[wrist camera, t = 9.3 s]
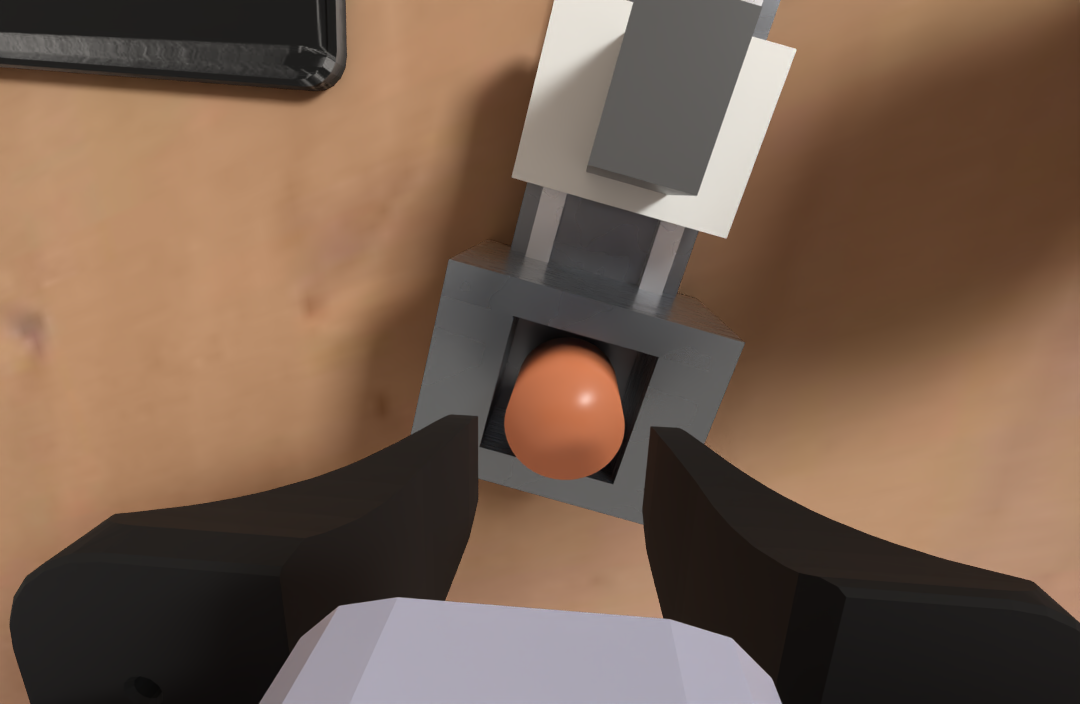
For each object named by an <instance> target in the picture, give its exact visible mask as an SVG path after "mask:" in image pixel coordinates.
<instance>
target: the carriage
mask: <svg viewBox="0 0 1080 704" xmlns="http://www.w3.org/2000/svg"><path fill="white" fill-rule="evenodd" d="M762 7H763V6H759V5H756V4H752V3H749V2H745V1H742V0H634V2H631V1H627V0H554V4H553V8H552V12H551V16H550V20H549V25H548V29H547V33H546V37H545V41H544V45H543V49H542V53H541V58H540V62H539V66H538V70H537V74H536V78H535V82H534V87H533V91H532V95H531V99H530V103H529V107H528V111H527V116H526V120H525V124H524V128H523V132H522V136H521V140H520V144H519V149H518V153H517V157H516V161H515V165H514V169H513V173H512V178H515V179H518V180H522V181H525V182H529V183H532V184H536V185H539V186H543V187H547V188H550V189H554V190H557V191H561V192H564V193H568V194H571V195H575V196H578V197H582V198H585V199H589V200H592V201H596V202H599V203H603V204H606V205H610V206H613V207H617V208H620V209H624V210H627V211H631V212H634V213H638V214H642V215H645V216H649V217H652V218H656V219H659V220H663V221H666V222H670V223H673V224H677V225H680V226H684V227H687V228H691V229H694V230H698V231H701V232H705V233H708V234H712V235H715V236H719V237H722V238H726V239H727V236H728V233H729V230H730V228H731V225H732V222H733V220H734V217H735V214H736V212H737V209H738V206H739V204H740V201H741V198H742V195H743V193H744V190H745V187H746V185H747V182H748V179H749V177H750V174H751V171H752V168H753V166H754V163H755V160H756V158H757V155H758V152H759V150H760V147H761V144H762V142H763V139H764V136H765V133H766V131H767V128H768V125H769V123H770V120H771V117H772V115H773V112H774V109H775V106H776V104H777V101H778V98H779V96H780V93H781V90H782V88H783V85H784V82H785V80H786V77H787V74H788V71H789V69H790V66H791V63H792V61H793V58H794V55H795V53H796V50H797V49H794V48H791V47H787V46H784V45H780V44H777V43H773V42H770V41H766V40H763V39H760V38H756V37H753V33H754V30H755V27H756V24H757V21H758V18H759V16H760V13H761V10H762Z"/></svg>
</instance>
